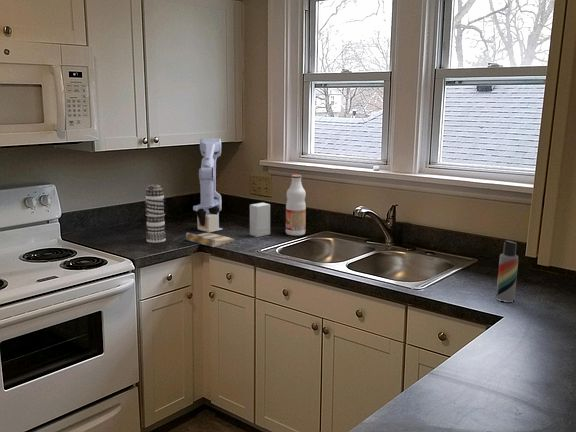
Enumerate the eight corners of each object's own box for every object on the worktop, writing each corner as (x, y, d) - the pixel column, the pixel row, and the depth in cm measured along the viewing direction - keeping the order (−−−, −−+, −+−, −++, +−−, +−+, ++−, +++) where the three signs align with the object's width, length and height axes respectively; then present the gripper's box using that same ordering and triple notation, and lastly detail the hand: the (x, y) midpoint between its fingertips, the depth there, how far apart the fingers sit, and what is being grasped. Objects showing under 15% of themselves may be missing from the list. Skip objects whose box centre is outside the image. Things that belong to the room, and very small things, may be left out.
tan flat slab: (185, 239, 264) (185, 233, 263) (208, 234, 274) (208, 228, 273) (212, 247, 252) (212, 239, 252) (235, 241, 262) (235, 234, 262)
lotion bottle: (492, 297, 194) (498, 238, 190) (509, 297, 195) (515, 238, 191) (500, 303, 189) (506, 243, 185) (517, 303, 189) (523, 243, 185)
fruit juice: (300, 236, 273) (301, 177, 268) (282, 234, 277) (282, 175, 272) (308, 232, 282) (309, 174, 276) (291, 230, 286) (291, 173, 280)
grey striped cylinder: (170, 240, 262) (168, 185, 257) (151, 243, 257) (149, 187, 251) (161, 236, 269) (159, 182, 264) (142, 239, 263) (140, 184, 258)
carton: (208, 232, 258) (208, 216, 256) (197, 229, 263) (196, 214, 262) (217, 230, 262) (217, 215, 260) (206, 227, 267) (206, 212, 265)
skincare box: (263, 232, 280) (263, 202, 277) (270, 235, 276) (271, 203, 273) (248, 235, 275) (248, 203, 272) (256, 237, 271) (256, 205, 268)
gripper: (200, 197, 251) (200, 228, 254) (225, 193, 262) (225, 223, 265) (189, 195, 256) (190, 225, 258) (214, 191, 266) (215, 221, 269)
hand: (207, 224), depth 262 cm, fingers closed on carton, 5 cm apart
